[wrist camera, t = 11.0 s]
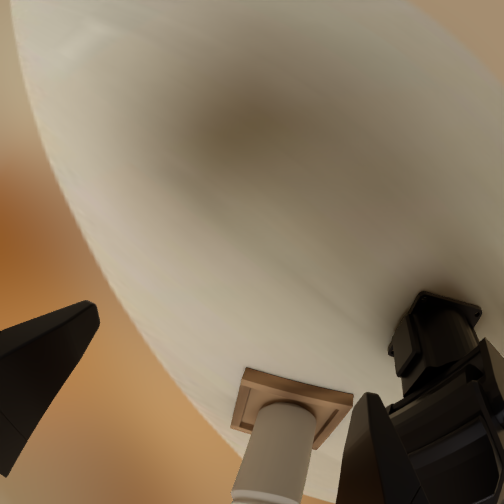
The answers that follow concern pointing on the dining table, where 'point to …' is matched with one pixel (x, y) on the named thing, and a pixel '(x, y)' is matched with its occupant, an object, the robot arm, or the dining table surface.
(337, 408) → the tray
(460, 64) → the dining table surface
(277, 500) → the beverage can
